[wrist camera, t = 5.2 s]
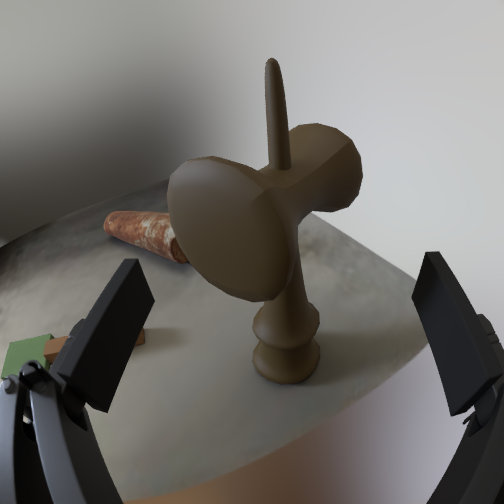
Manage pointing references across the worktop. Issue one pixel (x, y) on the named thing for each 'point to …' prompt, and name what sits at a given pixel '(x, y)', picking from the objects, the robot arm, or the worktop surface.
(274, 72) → the kendama
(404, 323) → the worktop surface
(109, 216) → the reddish brown tapered cylinder
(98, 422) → the worktop surface
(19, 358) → the spatula
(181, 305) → the worktop surface
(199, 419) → the worktop surface
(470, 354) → the robot arm
